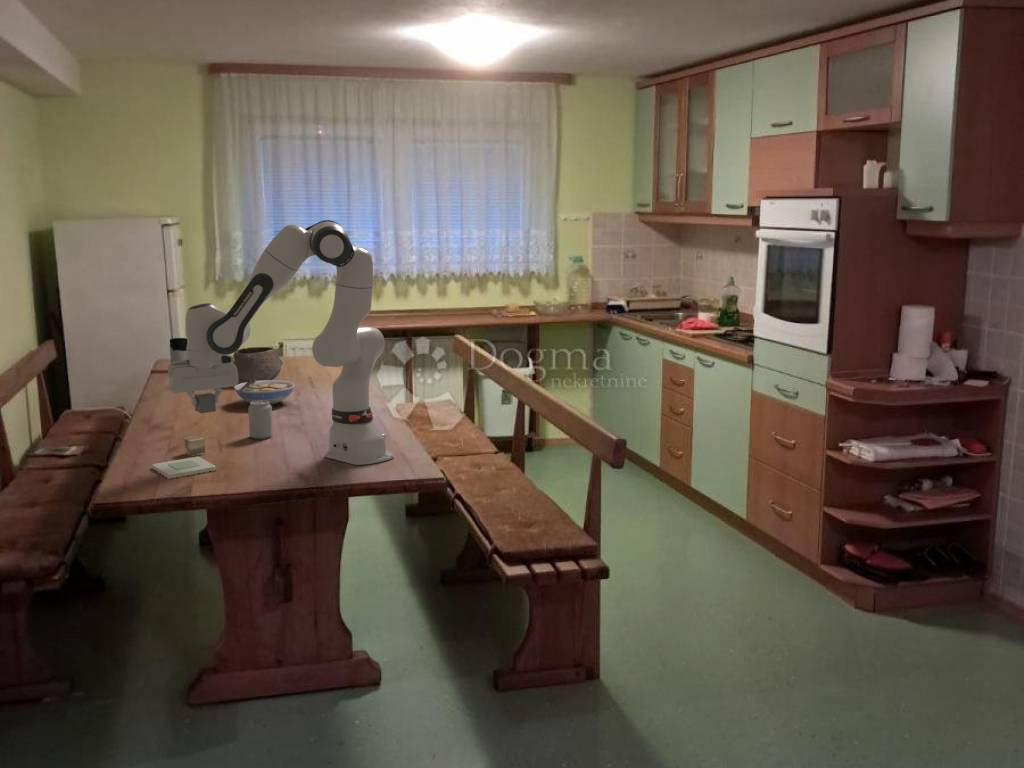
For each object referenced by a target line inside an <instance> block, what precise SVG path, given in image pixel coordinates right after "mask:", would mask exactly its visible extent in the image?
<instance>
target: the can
mask: <svg viewBox="0 0 1024 768" xmlns="http://www.w3.org/2000/svg"><path fill="white" fill-rule="evenodd" d="M272 406H273V405H270V404H269V401H263V400H261V401H253V402H250V403H249V406H248V409H247V410H248V414H247V415H248V430H249V431H248V432H249V436H250V437H251V438H252V439H253V438H254V439H253V440H265V438H267V439H269V437H270V436H271V437H272V435H274V429H273V427H274V426H273V409H272ZM271 437H270V438H271Z"/></svg>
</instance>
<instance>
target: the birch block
mask: <svg viewBox="0 0 1024 768" xmlns="http://www.w3.org/2000/svg"><path fill="white" fill-rule="evenodd" d="M183 439H184V453H187V454H189V455H190V456H189V455H188V456H189V457H191V456H192V455H197V454H201V453H205V454H206V444H205V443H206V440H205V438H203V437H202V436H200V435H196V436H189V437H184V438H183ZM187 454H186V455H187ZM197 456H198V455H197ZM192 457H193V456H192Z"/></svg>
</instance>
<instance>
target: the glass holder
mask: <svg viewBox="0 0 1024 768" xmlns="http://www.w3.org/2000/svg"><path fill="white" fill-rule="evenodd" d="M186 348H187V337H175V338H170V339H169V355H170V356H169V357H170V364H171V363H172V362H174V361H182V360H187V349H186ZM172 365H173V364H172ZM178 365H179V364H178Z"/></svg>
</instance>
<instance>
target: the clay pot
mask: <svg viewBox="0 0 1024 768" xmlns="http://www.w3.org/2000/svg"><path fill="white" fill-rule="evenodd" d="M232 356H233V357H234V363H233V364H235V366H236V368H237V372H238V382H240V383H245V382H248V381H249V380H250V379H251V378H252V377H254V379H255V378H256V377H258V379H257V380H256V381H262V380H275V379H276V378H277V377H278V376H279V374H280V372H281V369H282V365H283V363H284V362H283V360H282V359H280V356H279V354H278V352H277V350H276V349H274V348H273V347H270V346H256V347H255V346H254V347H253V346H252V347H243V348H239V349H238V350H237V351H236V352H234V353H233V355H232ZM254 379H253V380H254ZM253 380H252V381H253Z"/></svg>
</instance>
